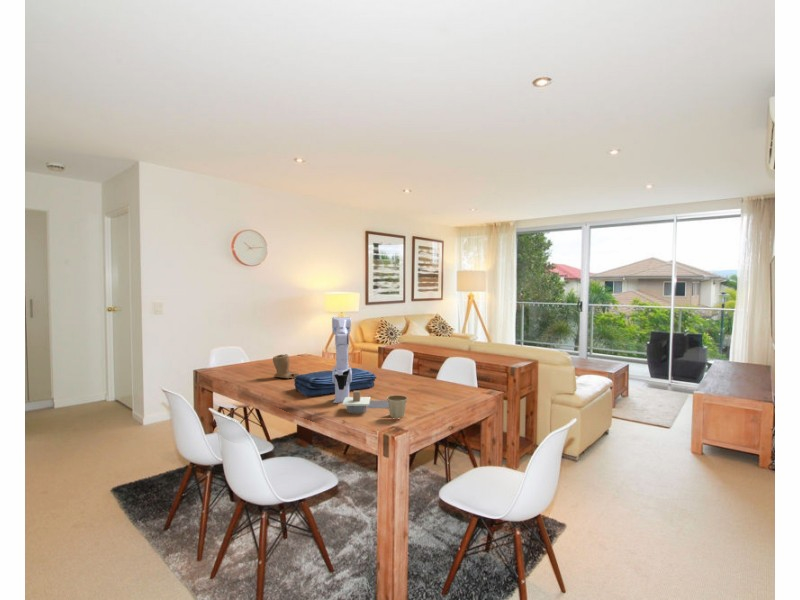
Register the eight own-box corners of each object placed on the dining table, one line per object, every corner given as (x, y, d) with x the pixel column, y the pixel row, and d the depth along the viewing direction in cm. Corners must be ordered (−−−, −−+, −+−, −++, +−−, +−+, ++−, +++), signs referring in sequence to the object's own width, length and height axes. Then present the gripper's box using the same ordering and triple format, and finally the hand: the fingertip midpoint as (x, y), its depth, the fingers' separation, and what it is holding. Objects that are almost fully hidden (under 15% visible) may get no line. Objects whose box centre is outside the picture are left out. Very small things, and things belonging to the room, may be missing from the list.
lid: (345, 398, 203) (345, 388, 203) (370, 398, 203) (370, 388, 203) (342, 405, 191) (342, 394, 191) (368, 405, 191) (368, 394, 191)
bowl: (347, 408, 201) (347, 399, 201) (366, 408, 201) (366, 399, 201) (345, 414, 192) (345, 404, 192) (365, 414, 192) (365, 404, 192)
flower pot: (407, 413, 194) (407, 394, 194) (408, 420, 184) (408, 400, 184) (386, 413, 194) (386, 395, 193) (386, 420, 184) (386, 400, 184)
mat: (368, 401, 213) (368, 400, 213) (394, 401, 213) (394, 400, 213) (366, 409, 200) (366, 408, 200) (394, 409, 201) (394, 408, 200)
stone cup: (269, 378, 269) (268, 354, 268) (283, 374, 279) (283, 352, 278) (285, 381, 260) (285, 356, 260) (299, 377, 271) (299, 354, 270)
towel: (377, 387, 245) (377, 369, 244) (308, 399, 220) (307, 379, 220) (357, 380, 264) (357, 363, 264) (291, 389, 240) (291, 371, 240)
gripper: (348, 361, 193) (349, 391, 193) (352, 356, 207) (352, 384, 207) (333, 361, 193) (333, 391, 193) (337, 356, 207) (338, 384, 207)
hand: (342, 387), depth 200 cm, fingers open, 7 cm apart
